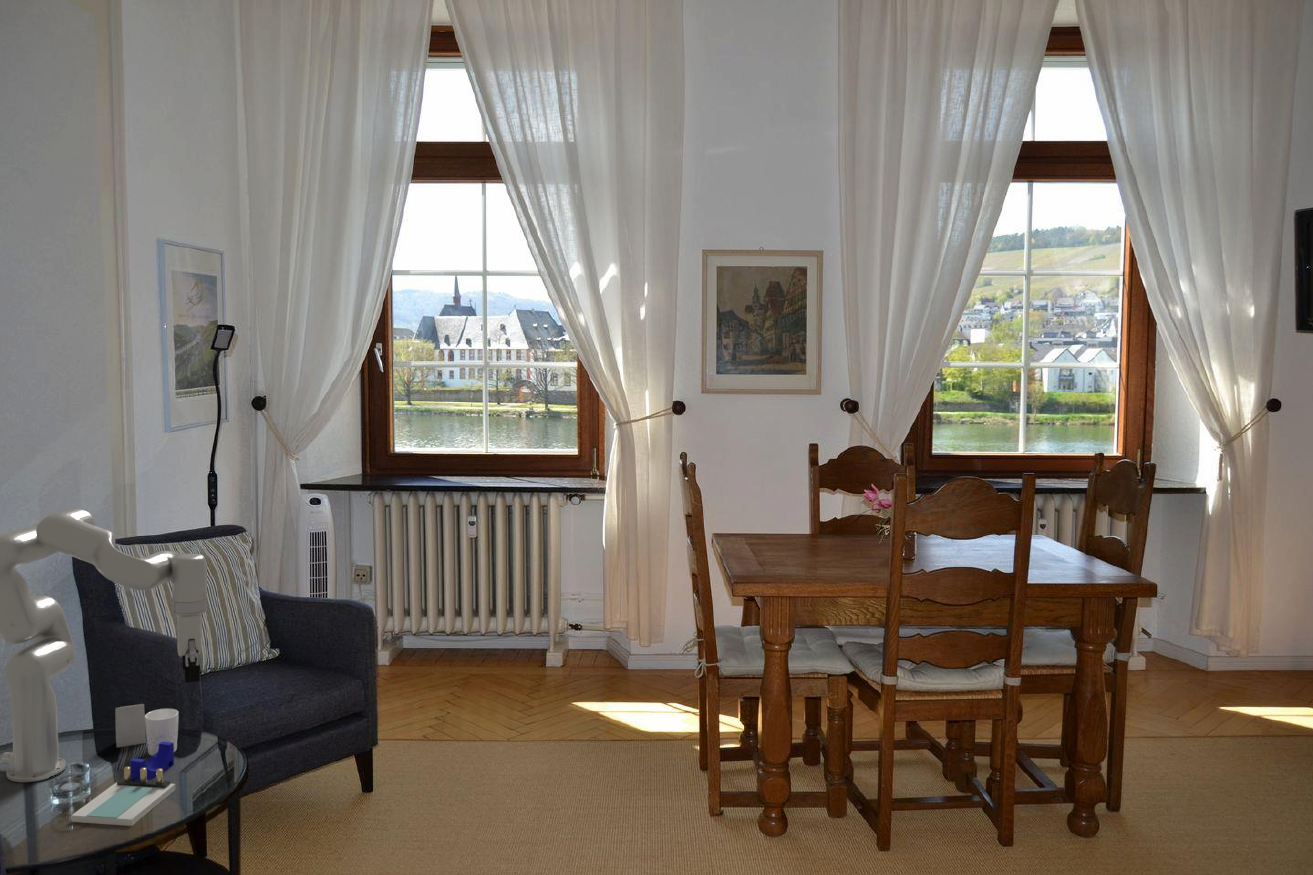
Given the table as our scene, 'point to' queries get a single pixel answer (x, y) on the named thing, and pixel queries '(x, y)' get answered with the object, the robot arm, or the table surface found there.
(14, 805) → the table surface
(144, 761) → the blue curved stepped piece
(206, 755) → the table surface
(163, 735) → the white cup
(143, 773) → the coat peg rack
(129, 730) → the grey box
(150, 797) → the board
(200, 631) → the robot arm
